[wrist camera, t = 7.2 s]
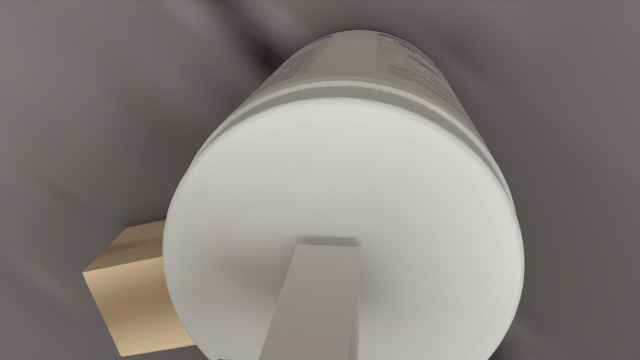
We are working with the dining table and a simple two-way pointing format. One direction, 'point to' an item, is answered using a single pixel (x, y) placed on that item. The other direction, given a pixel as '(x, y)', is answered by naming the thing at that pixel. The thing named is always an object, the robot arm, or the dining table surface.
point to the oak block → (136, 292)
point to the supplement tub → (349, 207)
